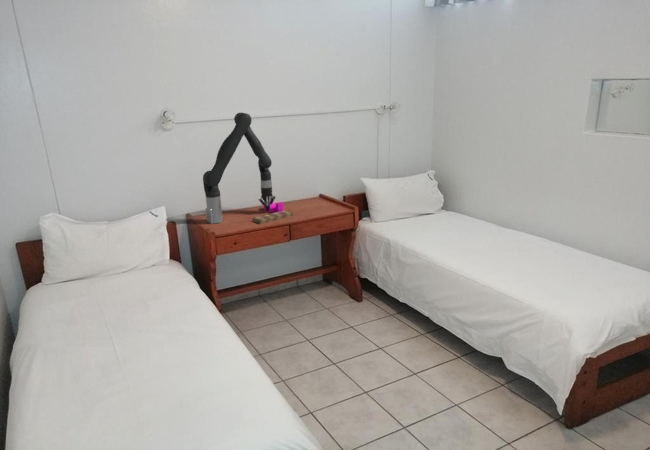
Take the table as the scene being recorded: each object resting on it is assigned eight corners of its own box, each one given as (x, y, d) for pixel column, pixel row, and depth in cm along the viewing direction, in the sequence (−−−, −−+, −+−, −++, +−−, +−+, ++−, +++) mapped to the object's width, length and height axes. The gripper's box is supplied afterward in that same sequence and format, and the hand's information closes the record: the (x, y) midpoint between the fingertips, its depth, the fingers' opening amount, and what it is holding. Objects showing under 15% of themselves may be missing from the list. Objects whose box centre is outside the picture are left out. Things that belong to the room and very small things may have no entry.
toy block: (263, 210, 330) (263, 199, 328) (271, 208, 334) (270, 198, 331) (275, 214, 319) (274, 204, 317) (283, 213, 323) (282, 202, 320)
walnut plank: (260, 224, 299) (260, 220, 298) (252, 221, 305) (252, 217, 304) (292, 215, 315) (292, 212, 314) (284, 213, 321) (284, 210, 321)
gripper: (261, 188, 310) (262, 213, 315) (277, 185, 318) (278, 210, 323) (255, 187, 315) (256, 211, 321) (271, 183, 324) (272, 207, 329)
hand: (267, 210), depth 322 cm, fingers closed
